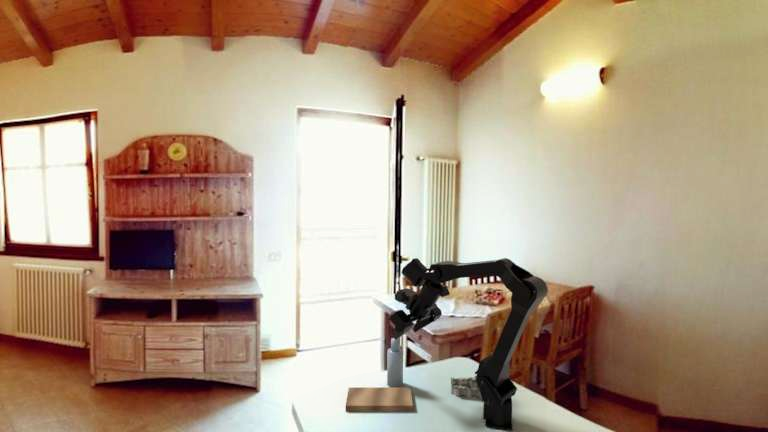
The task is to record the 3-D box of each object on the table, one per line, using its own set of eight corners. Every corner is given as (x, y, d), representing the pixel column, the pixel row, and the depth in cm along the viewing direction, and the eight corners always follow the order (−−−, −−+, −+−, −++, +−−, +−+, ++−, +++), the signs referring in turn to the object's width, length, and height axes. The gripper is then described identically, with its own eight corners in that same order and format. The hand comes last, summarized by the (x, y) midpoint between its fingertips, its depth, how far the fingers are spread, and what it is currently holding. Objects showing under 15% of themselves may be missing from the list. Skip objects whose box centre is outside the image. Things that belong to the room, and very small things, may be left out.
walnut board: (410, 392, 114) (410, 387, 114) (412, 411, 104) (412, 405, 104) (348, 392, 114) (348, 387, 114) (345, 411, 104) (345, 405, 104)
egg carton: (486, 388, 117) (486, 375, 117) (487, 401, 110) (487, 386, 110) (450, 384, 119) (451, 371, 119) (449, 396, 112) (449, 382, 112)
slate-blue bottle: (404, 381, 121) (404, 337, 120) (401, 388, 116) (401, 342, 116) (389, 379, 122) (389, 335, 121) (385, 386, 117) (385, 341, 117)
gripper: (427, 275, 125) (407, 310, 131) (388, 284, 111) (367, 323, 117) (452, 298, 118) (429, 334, 125) (414, 311, 105) (390, 351, 111)
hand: (404, 334), depth 120 cm, fingers open, 9 cm apart
